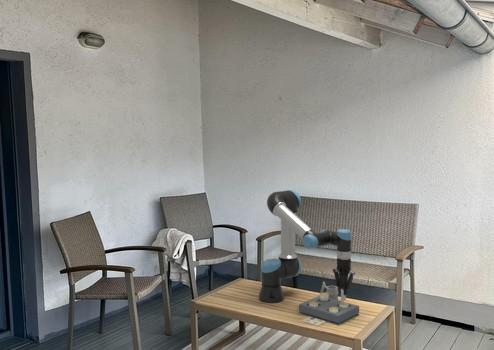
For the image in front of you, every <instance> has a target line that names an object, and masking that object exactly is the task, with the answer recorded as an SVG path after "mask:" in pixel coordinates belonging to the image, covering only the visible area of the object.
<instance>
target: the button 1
mask: <svg viewBox="0 0 494 350" xmlns="http://www.w3.org/2000/svg"><path fill="white" fill-rule="evenodd" d="M309 306H312V307H317V306H318V303H317V302H310V303H309Z"/></svg>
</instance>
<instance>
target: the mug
mask: <svg viewBox="0 0 494 350" xmlns="http://www.w3.org/2000/svg"><path fill="white" fill-rule="evenodd" d="M320 288H321V289H320V290H319V291H320V293H328V298H331V299H335V300H339V289H338V288H339V287H337V285H328V286H327V285H326V282H325V281H322V285H321V287H320ZM325 289H326V291H325V292H324V290H325ZM320 293H319V294H320Z"/></svg>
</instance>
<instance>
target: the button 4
mask: <svg viewBox="0 0 494 350" xmlns="http://www.w3.org/2000/svg"><path fill="white" fill-rule="evenodd" d="M348 303H349V302H347V301H346V302H345V301H342V302H341V303H340V304H339V307H343V308H347V307H348Z"/></svg>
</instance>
